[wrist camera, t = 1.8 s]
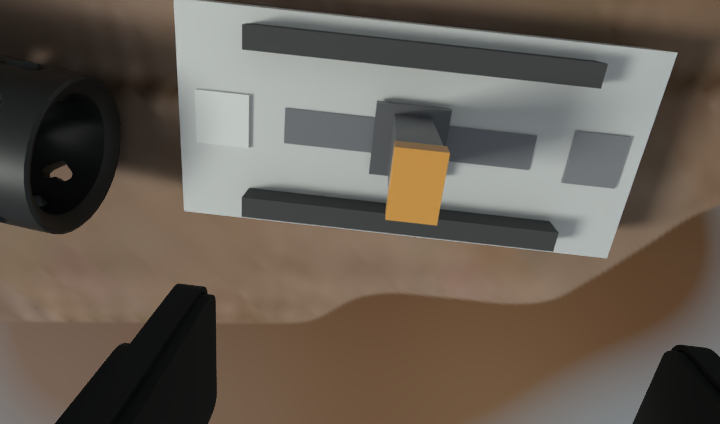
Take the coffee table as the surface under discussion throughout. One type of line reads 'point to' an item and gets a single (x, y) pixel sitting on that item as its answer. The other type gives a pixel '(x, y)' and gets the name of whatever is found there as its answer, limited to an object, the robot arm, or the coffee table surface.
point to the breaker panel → (419, 87)
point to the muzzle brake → (54, 145)
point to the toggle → (411, 159)
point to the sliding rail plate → (418, 57)
